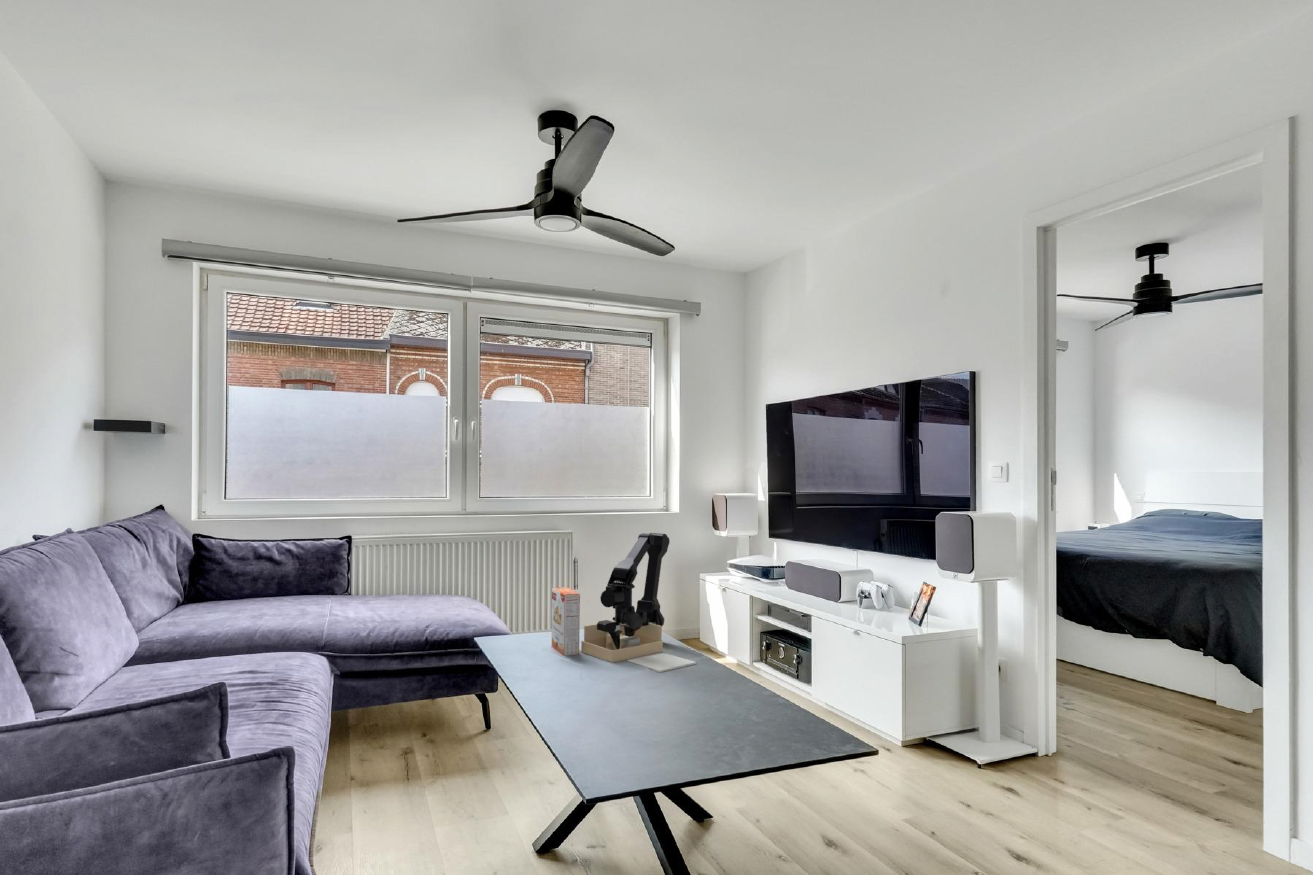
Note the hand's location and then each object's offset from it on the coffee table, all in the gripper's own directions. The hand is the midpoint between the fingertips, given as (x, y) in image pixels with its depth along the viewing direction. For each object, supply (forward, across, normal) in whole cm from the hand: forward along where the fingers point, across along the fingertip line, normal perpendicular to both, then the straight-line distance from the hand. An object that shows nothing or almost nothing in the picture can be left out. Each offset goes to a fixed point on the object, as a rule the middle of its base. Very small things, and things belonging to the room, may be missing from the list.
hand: (622, 648), depth 258 cm
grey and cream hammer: (+1, 0, 0) cm, 1 cm away
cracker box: (+2, -14, +14) cm, 20 cm away
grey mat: (+2, +2, -18) cm, 18 cm away
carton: (+2, 0, 0) cm, 2 cm away
